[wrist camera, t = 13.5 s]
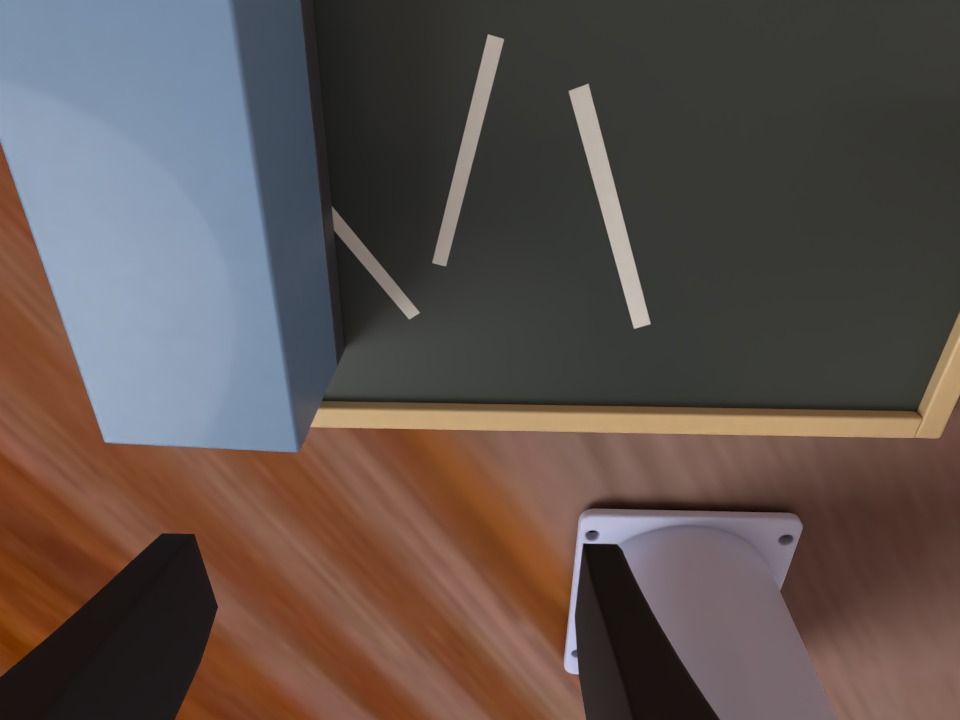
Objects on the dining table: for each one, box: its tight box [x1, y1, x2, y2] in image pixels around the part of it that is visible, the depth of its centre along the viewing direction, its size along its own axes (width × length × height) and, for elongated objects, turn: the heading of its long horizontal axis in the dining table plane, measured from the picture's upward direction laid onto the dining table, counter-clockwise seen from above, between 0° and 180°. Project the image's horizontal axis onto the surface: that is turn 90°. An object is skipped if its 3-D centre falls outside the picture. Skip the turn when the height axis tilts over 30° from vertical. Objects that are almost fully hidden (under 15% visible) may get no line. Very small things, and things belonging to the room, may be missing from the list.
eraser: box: [0, 0, 345, 452], centre depth 15 cm, size 10×5×5 cm, turn 178°
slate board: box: [310, 0, 960, 438], centre depth 17 cm, size 14×26×1 cm, turn 90°
